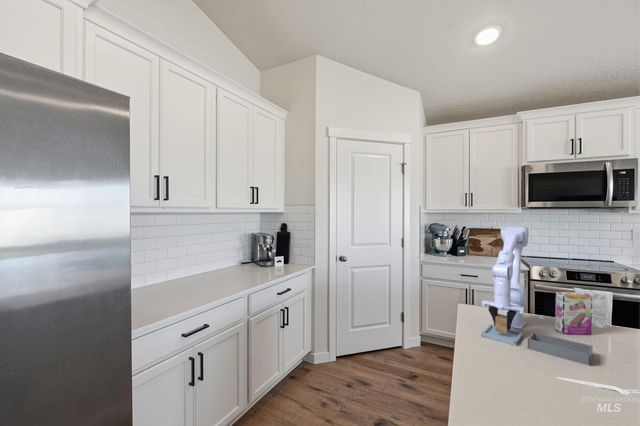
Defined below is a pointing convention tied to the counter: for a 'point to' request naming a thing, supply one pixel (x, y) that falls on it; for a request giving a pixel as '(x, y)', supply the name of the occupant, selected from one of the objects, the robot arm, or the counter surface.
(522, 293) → the robot arm
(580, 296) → the candy bar box
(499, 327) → the walnut block
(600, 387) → the fork
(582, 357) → the gray rectangular bin
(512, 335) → the light blue tray
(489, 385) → the counter surface
